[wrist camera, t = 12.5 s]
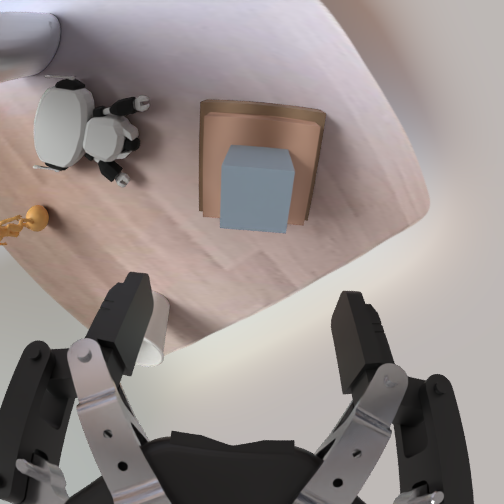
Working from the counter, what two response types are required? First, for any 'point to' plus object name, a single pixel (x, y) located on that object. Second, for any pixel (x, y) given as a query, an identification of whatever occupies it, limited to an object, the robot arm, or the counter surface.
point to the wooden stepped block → (261, 135)
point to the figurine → (34, 221)
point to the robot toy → (84, 129)
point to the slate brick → (256, 188)
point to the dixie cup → (155, 333)
